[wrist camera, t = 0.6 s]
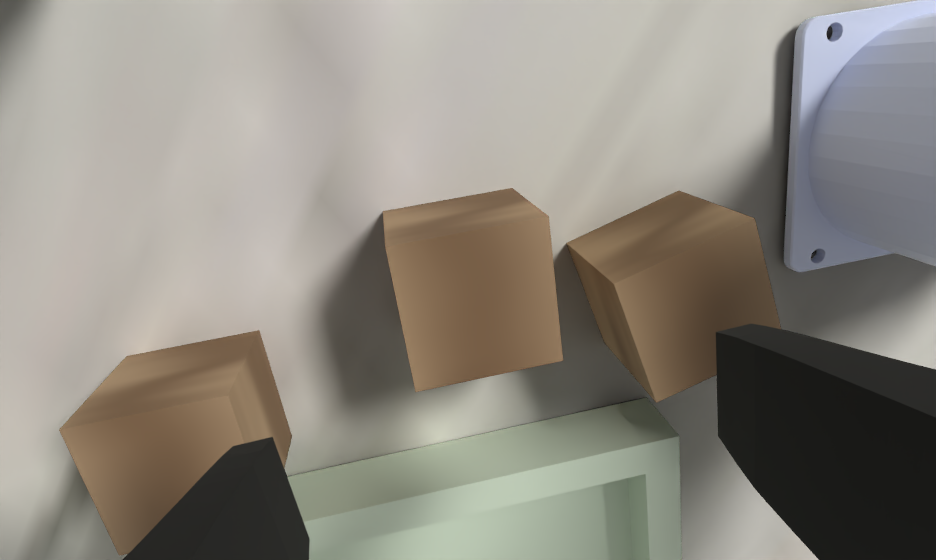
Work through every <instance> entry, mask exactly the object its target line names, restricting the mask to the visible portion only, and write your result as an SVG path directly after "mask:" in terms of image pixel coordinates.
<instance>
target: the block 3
mask: <svg viewBox="0 0 936 560" xmlns="http://www.w3.org/2000/svg"><path fill="white" fill-rule="evenodd" d="M567 246H568V249H569V251H570V254H571V257H572V259H573V262H574V264H575V267H576V270H577V272H578V275H579V277H580V280H581V283H582V285H583V288H584V291H585V293H586V296H587V298H588V301H589V304H590V306H591V309H592V311H593V314H594V317H595V319H596V322H597V325H598V327H599V330H600V332H601V335H602V338H603V340H604V343H605V344H606V345H607V346H608V347H609V349H610V350H611V351H612V352H613V353H614V354H615V356H616V357H617V358H618V359H619V360H620V361H621V362H622V364H623V365H624V366H625V367H626V368H627V369H628V371H629V372H630V373H631V374H632V375H633V376H634V377H635V379H636V380H637V381H638V382H639V383H640V384H641V386H642V387H643V388H644V389H645V390H646V391H647V392H648V394H649V395H650V396H651V397H652V398H653V399H654V401H655V402H656V403H657V402H659V401H661V400H663V399H666V398H668V397H670V396H672V395H674V394H676V393H678V392H681V391H683V390H685V389H687V388H689V387H691V386H693V385H696V384H698V383H700V382H702V381H704V380H706V379H709V378H711V377H713V376H715V375H717V365H716V332H718V331H722V330H726V329H730V328H734V327H739V326H743V325H747V324H757V325H763V326H768V327H773V328H778V329H781V326H780V322H779V318H778V314H777V309H776V305H775V301H774V297H773V293H772V288H771V284H770V280H769V276H768V272H767V267H766V263H765V259H764V255H763V251H762V246H761V242H760V238H759V234H758V230H757V225H756V221H755V218H752V217H750V216H747V215H744V214H742V213H739V212H736V211H733V210H731V209H728V208H725V207H722V206H720V205H717V204H714V203H711V202H709V201H706V200H703V199H700V198H698V197H695V196H692V195H689V194H687V193H684V192H681V191H677V192H675V193H673V194H671V195H668V196H666V197H664V198H662V199H660V200H658V201H656V202H653V203H651V204H649V205H647V206H645V207H643V208H641V209H638V210H636V211H634V212H632V213H630V214H628V215H626V216H623V217H621V218H619V219H617V220H615V221H613V222H611V223H608V224H606V225H604V226H602V227H600V228H598V229H596V230H593V231H591V232H589V233H587V234H585V235H583V236H581V237H578V238H576V239H574V240H572V241H570V242H568V243H567Z"/></svg>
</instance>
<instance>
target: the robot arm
mask: <svg viewBox="0 0 936 560" xmlns="http://www.w3.org/2000/svg"><path fill="white" fill-rule="evenodd" d="M830 25H831V27H832V30H833V33H832V36H831V38H830V39H829V40H828V39H827V35H826V32H827V29H828V27H829V26H830ZM816 249H817V252H816V255H815V256H814V257H813V258H812V259H811V255H812V253H813V252H814V251H815V250H816ZM893 253H896V254H899V255H902V256H905V257H908V258H911V259H914V260H918V261H921V262H924V263H927V264H930V265H933V266H936V0H917V1H911V2H904V3H898V4H892V5H886V6H879V7H873V8H867V9H861V10H854V11H848V12H842V13H836V14H829V15H823V16H817V17H811V18H809V19H806V20H805V21H804V22H802V23H801V24H800V26H799V28H798V29H797V31H796V36H795V47H794V67H793V86H792V106H791V125H790V145H789V164H788V184H787V203H786V223H785V242H784V264H785V265H786V266H787V267H788V268H790V269H792V270H794V271H796V272H805V271H810V270H815V269H820V268H825V267H830V266H835V265H839V264H844V263H849V262H854V261H859V260H864V259H869V258H874V257H879V256H883V255H888V254H893ZM716 365H717V406H718V436H719V438H720V439H721V441H722V442H723V444H724V445H725V447H726V448H727V450H728V451H729V453H730V454H731V456H732V457H733V459H734V460H735V462H736V463H737V465H738V466H739V467H740V469H741V470H742V472H743V473H744V474H745V476H746V477H747V478H748V480H749V481H750V483H751V484H752V485H753V487H754V488H755V489H756V490H757V492H758V493H759V494H760V495H761V496H762V497H763V498H764V500H765V501H766V502H767V503H768V504H769V505H770V506H771V507H772V508H773V510H774V511H775V512H776V513H777V514H778V515H779V516H780V517H781V518H782V520H783V521H784V522H785V523H786V524H787V525H788V526H789V527H790V529H791V530H792V531H793V532H794V533H795V534H796V535H797V536H798V537H799V538H800V539H801V541H802V542H803V543H804V544H805V545H806V546H807V547H808V548H809V549H810V550H811V551H812V553H813V554H814V555H815V556H816V557H817V558H818V559H819V560H936V370H935V369H931V368H927V367H923V366H919V365H915V364H911V363H907V362H903V361H900V360H896V359H892V358H888V357H884V356H881V355H877V354H873V353H869V352H866V351H862V350H858V349H855V348H851V347H847V346H843V345H840V344H836V343H832V342H829V341H825V340H821V339H817V338H814V337H810V336H806V335H802V334H798V333H794V332H790V331H786V330H782V329H778V328H773V327H768V326H763V325H757V324H747V325H743V326H739V327H734V328H730V329H726V330H722V331H718V332H716ZM309 544H310V538H309V536H308V533H307V530H306V527H305V525H304V522H303V519H302V516H301V514H300V511H299V508H298V505H297V502H296V500H295V497H294V494H293V491H292V489H291V486H290V483H289V480H288V478H287V475H286V472H285V469H284V467H283V464H282V461H281V458H280V456H279V453H278V450H277V447H276V445H275V442H274V439H273V437H269V438H265V439H261V440H257V441H253V442H248V443H244V444H240V445H236V446H232V447H231V448H230V449H229V450H228V451H227V452H226V453H225V454H224V455H223V456H222V457H221V458H220V459H218V460H217V462H216V463H215V464H214V465H213V466H212V467H211V468H210V469H209V470H208V471H207V472H206V473H205V474H204V475H203V476H202V477H201V478H200V479H199V480H198V481H197V482H196V483H195V484H194V485H193V487H192V488H191V489H190V490H189V491H188V492H187V493H186V494H185V495H184V496H183V497H182V498H181V499H180V500H179V501H178V503H177V504H176V505H175V506H174V507H173V508H172V509H171V510H170V511H169V512H168V513H167V514H166V515H165V516H164V517H163V518H162V519H161V520H160V521H159V522H158V524H157V525H156V526H155V527H154V528H153V529H152V530H151V531H150V532H149V533H148V534H147V535H146V536H145V537H144V538H143V539H142V540H141V541H140V542H139V543H138V545H137V546H136V547H135V548H134V549H133V550H132V551H131V552H130V553H129V554H128V555H127V556H126V557H125V558H124V559H123V560H309Z"/></svg>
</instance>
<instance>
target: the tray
mask: <svg viewBox="0 0 936 560" xmlns="http://www.w3.org/2000/svg"><path fill="white" fill-rule="evenodd" d="M287 478H288V480H289V483H290V486H291V489H292V491H293V494H294V497H295V500H296V502H297V505H298V508H299V511H300V514H301V516H302V519H303V522H304V525H305V527H306V530H307V533H308V536H309V538H310V544H309V560H682V547H681V497H680V447H679V435H678V434H677V433H676V432H675V430H674V429H673V428H672V427H671V426H670V425H669V423H668V422H667V421H666V420H665V419H664V418H663V416H662V415H661V414H660V413H659V412H658V411H657V409H656V408H655V407H654V406H653V405H652V404H651V402H650V401H649V400H648V399H647V398H642V399H638V400H633V401H629V402H624V403H620V404H615V405H611V406H606V407H602V408H597V409H592V410H588V411H583V412H579V413H574V414H570V415H565V416H561V417H556V418H552V419H547V420H543V421H538V422H534V423H529V424H524V425H520V426H515V427H511V428H506V429H502V430H497V431H493V432H488V433H484V434H479V435H475V436H470V437H466V438H461V439H457V440H452V441H447V442H443V443H438V444H434V445H429V446H425V447H420V448H416V449H411V450H407V451H402V452H398V453H393V454H389V455H384V456H379V457H375V458H370V459H366V460H361V461H357V462H352V463H348V464H343V465H339V466H334V467H330V468H325V469H321V470H316V471H312V472H307V473H302V474H298V475H293V476H289V477H287Z"/></svg>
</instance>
